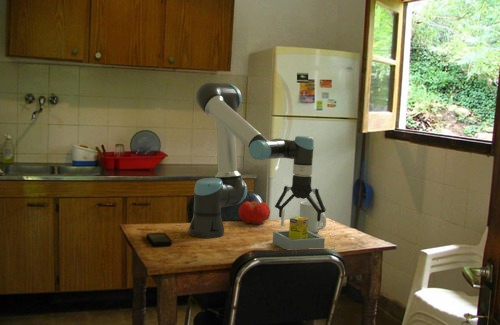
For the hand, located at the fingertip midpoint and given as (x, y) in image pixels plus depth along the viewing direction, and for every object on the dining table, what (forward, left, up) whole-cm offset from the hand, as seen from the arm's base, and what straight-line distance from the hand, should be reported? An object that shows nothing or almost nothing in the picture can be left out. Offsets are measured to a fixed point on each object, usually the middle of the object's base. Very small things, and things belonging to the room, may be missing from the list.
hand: (298, 227), depth 222 cm
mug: (+2, +27, -8) cm, 28 cm away
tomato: (-27, +34, -8) cm, 44 cm away
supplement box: (0, 0, -7) cm, 7 cm away
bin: (0, 0, -8) cm, 8 cm away
